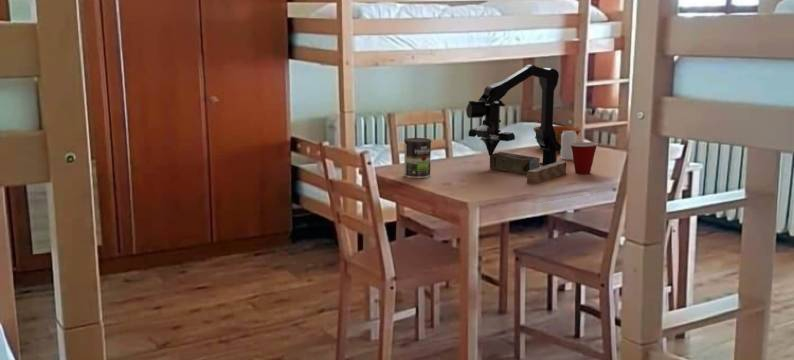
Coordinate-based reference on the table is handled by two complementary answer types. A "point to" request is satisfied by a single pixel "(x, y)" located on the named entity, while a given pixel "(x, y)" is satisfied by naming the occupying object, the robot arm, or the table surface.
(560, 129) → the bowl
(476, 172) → the table surface
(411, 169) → the coffee can
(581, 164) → the plastic cup
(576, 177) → the table surface
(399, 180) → the table surface
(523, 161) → the beverage carton
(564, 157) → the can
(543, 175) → the batten
